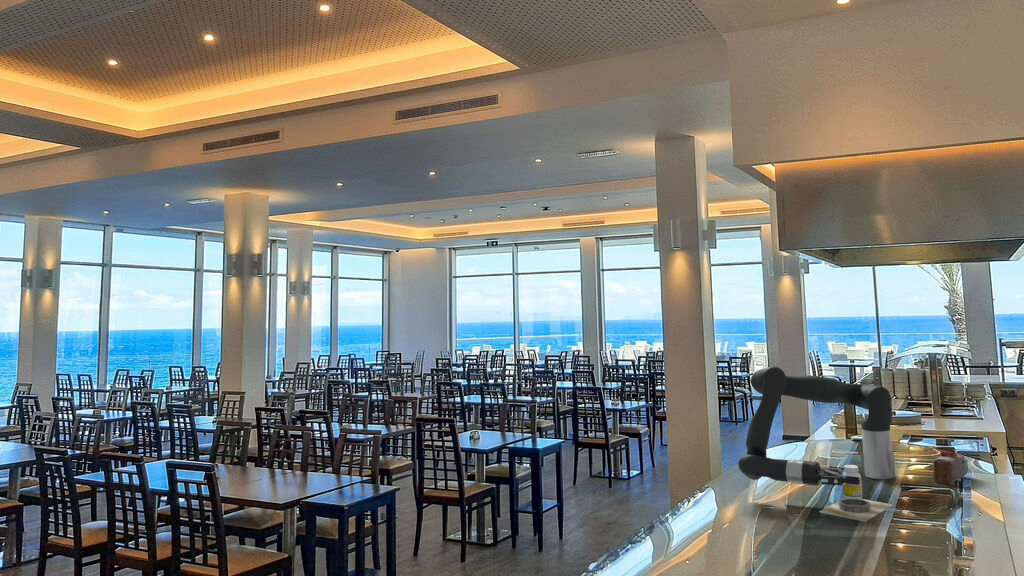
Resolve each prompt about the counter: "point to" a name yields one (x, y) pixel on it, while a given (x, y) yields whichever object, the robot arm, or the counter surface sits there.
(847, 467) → the supplement bottle
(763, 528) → the counter surface
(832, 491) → the counter surface
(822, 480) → the robot arm
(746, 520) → the counter surface
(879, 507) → the serving board
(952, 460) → the food item
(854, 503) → the bottle collar
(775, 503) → the counter surface
